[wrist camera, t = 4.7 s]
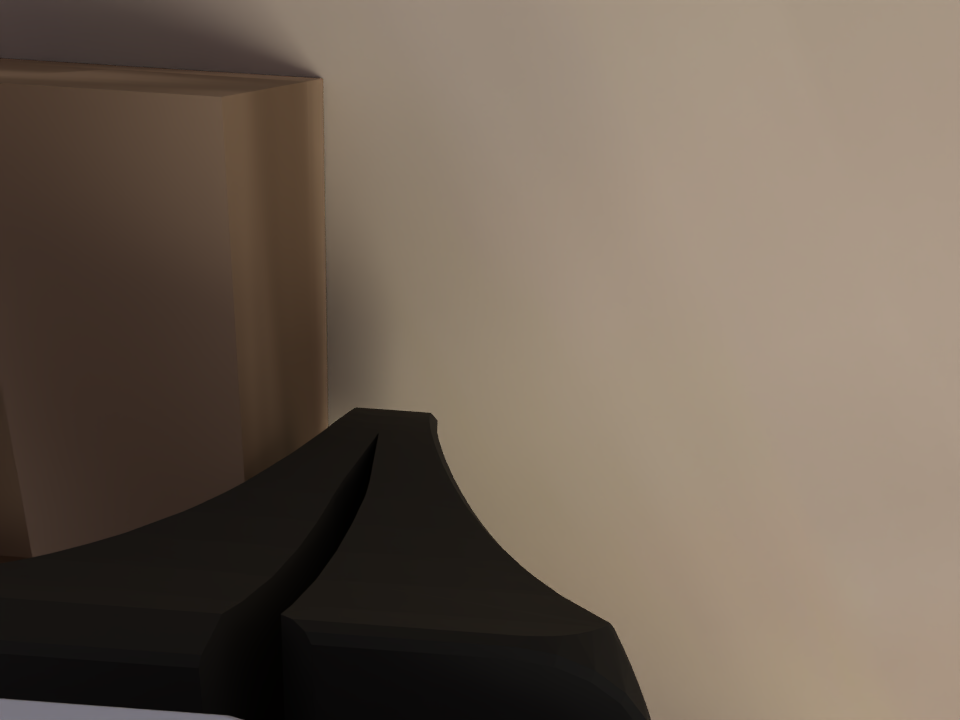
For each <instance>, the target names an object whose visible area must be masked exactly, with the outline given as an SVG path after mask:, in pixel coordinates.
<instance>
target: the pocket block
mask: <svg viewBox="0 0 960 720" xmlns="http://www.w3.org/2000/svg"><path fill="white" fill-rule="evenodd" d="M326 428H328V383H327V316H326V249H325V182H324V116H323V79H322V78H306V77H291V76H275V75H259V74H243V73H227V72H211V71H195V70H179V69H163V68H147V67H132V66H116V65H100V64H84V63H68V62H52V61H36V60H20V59H4V58H0V563H5V562H11V561H16V560H22V559H27V558H32V557H36V556H41V555H45V554H49V553H54V552H58V551H62V550H66V549H69V548H73V547H77V546H81V545H85V544H89V543H92V542H96V541H99V540H102V539H106V538H109V537H113V536H116V535H119V534H122V533H126V532H129V531H131V530H134V529H137V528H139V527H142V526H145V525H148V524H150V523H153V522H156V521H158V520H161V519H164V518H166V517H169V516H172V515H175V514H177V513H180V512H183V511H185V510H188V509H190V508H192V507H195V506H197V505H199V504H201V503H203V502H205V501H207V500H210V499H212V498H214V497H216V496H218V495H220V494H222V493H224V492H226V491H228V490H230V489H232V488H234V487H236V486H238V485H240V484H242V483H243V482H245V481H247V480H249V479H250V478H252V477H254V476H255V475H257V474H259V473H260V472H262V471H263V470H265V469H267V468H268V467H270V466H272V465H273V464H275V463H276V462H278V461H280V460H281V459H283V458H285V457H286V456H288V455H289V454H291V453H292V452H294V451H295V450H297V449H298V448H300V447H301V446H302V445H304V444H305V443H307V442H308V441H310V440H311V439H312V438H314V437H315V436H317V435H318V434H319V433H321V432H322V431H324V430H325V429H326Z"/></svg>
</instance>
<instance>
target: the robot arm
mask: <svg viewBox="0 0 960 720" xmlns="http://www.w3.org/2000/svg"><path fill="white" fill-rule="evenodd" d="M0 720H651V719H650V715H649V712H648V709H647V706H646V703H645V701H644V698H643V695H642V692H641V689H640V687H639V684H638V682H637V679H636V676H635V674H634V671H633V669H632V666H631V664H630V662H629V659H628V657H627V655H626V653H625V651H624V648H623V646H622V644H621V642H620V640H619V638H618V636H617V634H616V631H615V629H614V628H613V626H612V625H611V624H610V623H609V622H607V621H605V620H603V619H602V618H600V617H598V616H596V615H595V614H593V613H591V612H589V611H587V610H586V609H584V608H582V607H580V606H578V605H577V604H575V603H573V602H571V601H570V600H568V599H566V598H564V597H562V596H561V595H559V594H558V593H556V592H555V591H554V590H552V589H551V588H549V587H548V586H547V585H545V584H544V583H543V582H541V581H540V580H538V579H537V578H536V577H534V576H533V575H532V574H530V573H529V572H528V571H527V570H526V569H524V568H523V567H522V566H521V565H520V564H519V563H518V562H516V561H515V560H514V559H513V558H512V557H511V556H510V555H509V554H508V553H507V552H506V551H505V550H504V549H503V548H502V547H501V546H500V545H499V544H498V543H497V542H496V541H495V539H494V538H493V537H492V536H491V535H490V534H489V532H488V531H487V530H486V528H485V527H484V526H483V525H482V523H481V522H480V521H479V519H478V518H477V516H476V515H475V514H474V512H473V511H472V509H471V507H470V506H469V504H468V503H467V501H466V499H465V498H464V496H463V494H462V493H461V491H460V489H459V487H458V485H457V483H456V482H455V480H454V478H453V475H452V473H451V471H450V469H449V466H448V464H447V462H446V460H445V457H444V455H443V452H442V449H441V446H440V442H439V439H438V435H437V419H436V418H435V417H434V416H433V415H432V414H431V413H425V412H411V411H397V410H383V409H369V408H354V409H353V410H351V411H349V412H348V413H347V414H345V415H344V416H342V417H341V418H340V419H338V420H337V421H336V422H334V423H333V424H332V425H330V426H329V427H328V428H326V429H325V430H324V431H322V432H321V433H319V434H318V435H317V436H315V437H314V438H312V439H311V440H310V441H308V442H307V443H305V444H304V445H302V446H301V447H300V448H298V449H297V450H295V451H294V452H292V453H291V454H289V455H288V456H286V457H285V458H283V459H281V460H280V461H278V462H276V463H275V464H273V465H272V466H270V467H268V468H267V469H265V470H263V471H262V472H260V473H259V474H257V475H255V476H254V477H252V478H250V479H249V480H247V481H245V482H243V483H242V484H240V485H238V486H236V487H234V488H232V489H230V490H228V491H226V492H224V493H222V494H220V495H218V496H216V497H214V498H212V499H210V500H207V501H205V502H203V503H201V504H199V505H197V506H195V507H192V508H190V509H188V510H185V511H183V512H180V513H177V514H175V515H172V516H169V517H166V518H164V519H161V520H158V521H156V522H153V523H150V524H148V525H145V526H142V527H139V528H137V529H134V530H131V531H129V532H126V533H122V534H119V535H116V536H113V537H109V538H106V539H102V540H99V541H96V542H92V543H89V544H85V545H81V546H77V547H73V548H69V549H66V550H62V551H58V552H54V553H49V554H45V555H41V556H36V557H32V558H27V559H22V560H16V561H11V562H5V563H0Z"/></svg>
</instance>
